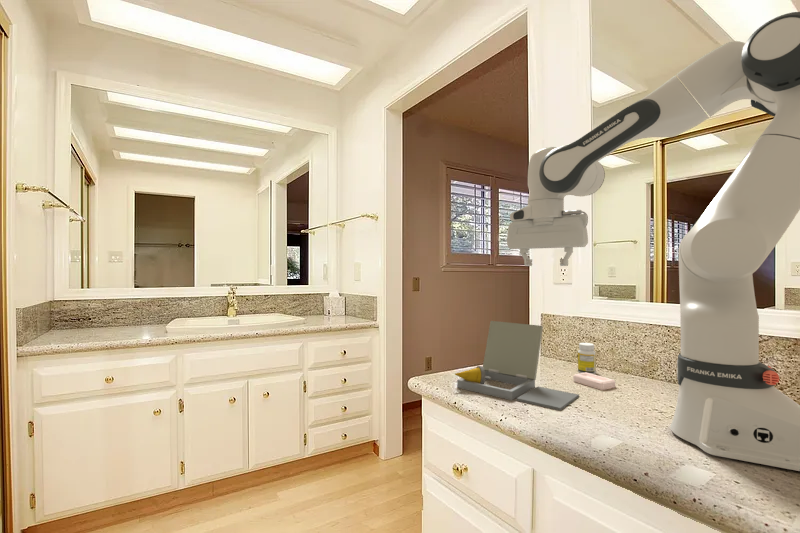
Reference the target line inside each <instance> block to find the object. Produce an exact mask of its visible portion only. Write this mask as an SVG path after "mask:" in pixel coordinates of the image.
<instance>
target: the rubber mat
mask: <svg viewBox="0 0 800 533" xmlns="http://www.w3.org/2000/svg"><path fill="white" fill-rule="evenodd" d="M579 397H580V394H578V393H573V392H568V391H563V390H558V389H552V388H547V387H543V386H535V388H533V389H531V390H529V391H527V392H526V393H524V394H522V395H520V396H519V397H517V398H516V401H517V402H520V403H525V404H529V405H533V406H539V407H542V408H546V409H550V410H551V409H552V410H556V411H562V410H564V409H565V408H566V407H567V406H569V405H570V404H571V403H573V402H574V401H576V399H578V398H579Z"/></svg>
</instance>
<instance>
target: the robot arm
mask: <svg viewBox="0 0 800 533" xmlns="http://www.w3.org/2000/svg"><path fill="white" fill-rule="evenodd" d="M742 100H750V105H751V107H753V108H755V109H757V110H760V111H762V112H764V113H766V114H768V115H770V116H772V117H773V119H772V120H771V121H770V123H769V124H768V125H767V126H766V128H765V129H764V130H763V132H762V134H760V136H759V137H758V139H757V140H756V141H755V142H754V144H753V145H752V146H751V147H750V149H748V150H749V151H748V152H747V153H746V154H745V156H744V157H743V159H742V160H741V161H740V162H739V164H738V165H737V166H736V168H735V169H734V171H732V173H731V174H730V176H729V177H728V178H727V180H726V181H725V183H724V184H723V186H722V187H721V188H720V189H719V191H718V193H717V194H716V195H715V197H713V199H712V201H711V202H710V203H709V205H708V206H707V207H706V209H705V210H704V212H703V213H702V214H701V215H700V217H699V218H698V219H697V221H695V223H694V225H693V226H692V227H691V229H690V230H689V231H688V232H687V233H686V234H685V235H684V236H683V238H682V239H681V241H680V244H679V247H678V276H679V277H678V278H679V279H678V280H679V281H678V284H679V308H680V310H679V312H680V317H679V318H680V353H678V355H677V360H676V380H677V384H678V393H677V394H678V395H677V401H676V406H675V409H674V410H675V411H674V414H673V417H672V421H671V423H670V424H669V428H670V430H671V432H672V433H673V434H674V435H676V436H677V437H679V438H681V439H683V440H684V441H686V442H689V443H691V444H693V445H695V446H697V447H698V448H700V449H701V450H702V451H703V452H705V453H706V454H709V455H712V456H716V457H722V458H727V459H732V460H739V461H744V462H749V463H754V464H761V465H765V466H770V467H776V468H781V469H787V470H790V471H791V470H793V471H798V472H800V404H799V403H797V402H796V401H795V400H793V399H792V398H791V397H789V396H788V395H786V394H785V393H783V392H782V391H781V390H780V389H778V388H776V387H775V386H776V385H777V384H778V383H780V376H779V373H778V372H776V371H775V369H774V368H772V366H770V365H768V366H767V364H765V363H763V362H760V351H759V350H760V342H759V340H760V339H759V338H760V337H759V336H760V330H759V329H760V326H759V325H760V324H759V322H760V320H759V319H760V318H759V312H758V308H757V307H758V306H757V301H756V296H755V295H756V294H755V287H754V277H753V274H754V273H755V272H757V270H758V269H759V268H760V267H761V266H762V265H763V263H764V262H765V261H766V259H767V258H768V256H769V255H770V254H771V252H772V251H773V250H774V248H775V247H776V246H777V245H778V243H779V242H780V240H781V239H782V237H783V235H784V234H785V233H786V231H787V230H788V228H789V227H790V225H791V224H792V222H793V221H794V219H795V217H796V216H797V214H798V213H799V211H800V11H795V12H794V11H793V12H789V13H785V14H782V15H779V16H777V17H774V18H772V19H770V20H768V21H767V22H765V23H763V24H762V25H761V26H760V27H758V28H757V29H756V30H755V31H754V32H753V33H752V34H751V35H750V36H749V38H748V39H747V40H746V42H743V41H738V40H734V41H733V40H732V41H729V42H726V43H723V44H722V45H720V46H718V47H716V48H714V49H713V50H711V51H709V52H708V53H706V54H704V55H702V56H701V57H699V58H698V59H695V61H693V62H691V63H690V64H688V65H687V66H686V67H685V68H683V69H682V70H680V71H678V72H677V73H676V75H674V76H672V77H671V78H669V79H667V81H665V82H664V83H662V84H661V85H660V86H658V87H657V88H655V89H654V90H652V92H650V93H648V94H647V95H646V96H644V97H642V98H641V99H638V100H637V101H635V102H634V103H632V104H630V105H629V106H627V107H625V108H623V109H622V110H621V111H619V112H616V113H615V114H613V115H612V116H611V117H609V118H608V119H607V120H605V121H604V122H602V123H601V124H599V125H597V126H595V128H593V129H592V130H591V131H588V133H585V134H584V135H583V136H581V137H580V138H578V139H577V140H574V141H573V142H570V143H568V144H565V145H562V146H559V147H556V146H550V147H544V148H541V149H538V150H537V151H535V152H534V153H533V154H532V155H531V156H530V159H529V163H528V167H527V187H528V192H529V193H528V194H529V195H528V198H527V205H526V206H525V207H522V208H519V209H518V210H517V209H516V210H515V211H513V212H511V213H510V214H509V220H510V221H511V222H510V224H509V225H508V228H507V234H506V235H507V236H506V244H507V247H508V248H509V250H519V253H520V255H521V257H522V259H523V261H524V262H523V263H524V264H523V265H524V266H525V267H532V266H533V259H531V258H529V256H528V253H529V250H530V249H531V250H532V249H534V250H535V249H557V248H559V249H562V248H564V249H563V250H564V253H565V254H564V256H563V258H559V262H560V263H559V266H560V267H568V266H569V259H570V258H571V256H572V254H573V252H574V251H573V250H574V248H585V247H586V246H587V245H588V243H589V236H588V229H587V226H588V223H589V220H588V219H589V218H588V217H589V216H588V214H587V212H585V211H583V210H581V209H575V210H564V209H565V207H564V206H565V203H564V202H565V197H566V196H575V197H587V196H591V195H593V194H595V193H596V192H597V191H599V190H600V188H601V187H602V185H603V183H604V181H605V177H606V176H605V175H606V173H605V169H604V166H603V164H601V162H600V161H601V160H603V159H604V158H606V157H607V156H609V155H611V154H612V153H614V152H616V151H617V150H619V149H620V148H622V147H623V146H625V145H627V144H629V143H631V142H634V141H637V140H641V139H647V138H673V137H677V136H679V135H681V134H683V133H685V132H688V131H690V130H691V129H693V128H696V127H697V126H698V125H701V123H703V122H705V121H706V120H708V119H710V118H711V117H713V116H714V115H715V114H717V113H718V112H720V111H721V110H722V109H724V108H725V107H727V106H729V105H731V104H733V103H735V102H738V101H742Z"/></svg>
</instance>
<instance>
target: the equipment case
mask: <svg viewBox="0 0 800 533" xmlns="http://www.w3.org/2000/svg"><path fill="white" fill-rule="evenodd" d="M543 329H544V326H542V325H539V324H538V325H536V324H526V323H518V322H506V321H496V320H495V321H494V320H490V323H489V328H488V332H487V333H488V335H487V340H486V345H485V350H484V351H485V352H484V358H483V364H482V367H484V370H485V376H489V377H491V379H489V380H491V381H497V382H500V381H501V382H500V383H506V384H510V383H511V385H516V386H514V387H512V388H511V389H507V388H504V387H499V386H494V385H489V384H485V383H484V384H480V383H476V382H471V381H466V380H464V379H463V378H461V377H460V378H459V379H456V380H457V381H456V382H457V383H456V384H457V386H456V387H457V389H462V390H465V391H470V392H475V393H478V392H479V394H482V395H483V394H484V395H487V396H491V395H492V396H493V397H495V396H496V397H497V398H500V397H501V399H504V398H505V399H504V400H508V401H509V400H510V401H514V400H515V399H517V398H518V397H520V396H521V395H523V394H525V393H527V392H529V391H530V390H532V389H534V388H536V380H537V379H536V378H537V372H538V365H539V358H540V350H541V345H542V344H541V343H542V335H543Z"/></svg>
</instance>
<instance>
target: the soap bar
mask: <svg viewBox="0 0 800 533" xmlns="http://www.w3.org/2000/svg"><path fill="white" fill-rule="evenodd" d="M572 380H573V383H579V384H580V385H583V386H584V385H585V386H588V387H590V388H595V389H598V390H601V391H605V390H609V389H613V388H616V380H614V379H611V378H608V377H605V376H601V375H597V374H591V373H587V372H585V373H580V372H578V373H574V374H573V377H572Z"/></svg>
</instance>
